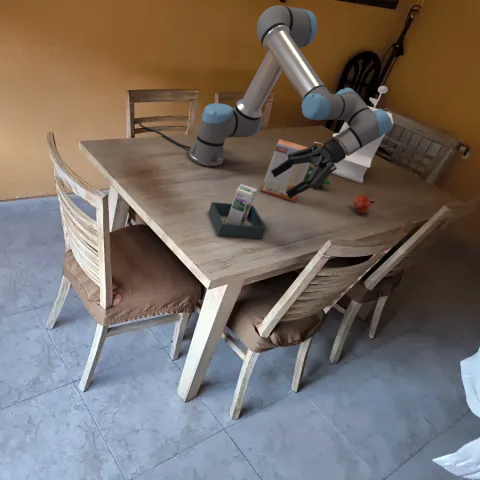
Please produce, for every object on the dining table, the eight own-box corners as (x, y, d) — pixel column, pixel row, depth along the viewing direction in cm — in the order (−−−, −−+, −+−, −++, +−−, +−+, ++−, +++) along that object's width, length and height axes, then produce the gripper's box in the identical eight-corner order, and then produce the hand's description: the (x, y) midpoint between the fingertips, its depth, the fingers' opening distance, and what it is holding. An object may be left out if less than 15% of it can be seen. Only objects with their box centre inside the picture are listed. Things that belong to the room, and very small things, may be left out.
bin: (218, 235, 140) (221, 224, 138) (208, 212, 151) (211, 201, 148) (261, 238, 144) (266, 227, 141) (249, 216, 154) (253, 205, 152)
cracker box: (295, 196, 174) (315, 148, 162) (294, 202, 169) (315, 154, 157) (262, 185, 177) (279, 137, 164) (259, 191, 172) (277, 142, 160)
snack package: (318, 192, 182) (323, 181, 178) (290, 174, 191) (295, 163, 188) (328, 189, 185) (333, 179, 182) (300, 172, 195) (305, 161, 192)
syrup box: (224, 226, 146) (236, 189, 137) (229, 218, 150) (241, 182, 142) (240, 232, 144) (253, 195, 136) (244, 224, 149) (257, 188, 141)
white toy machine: (363, 185, 196) (409, 99, 173) (304, 165, 202) (340, 79, 179) (363, 167, 215) (404, 87, 192) (309, 149, 221) (343, 69, 197)
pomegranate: (346, 216, 173) (372, 213, 166) (343, 198, 172) (369, 194, 165) (353, 213, 178) (378, 210, 171) (350, 195, 178) (375, 192, 171)
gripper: (364, 174, 126) (299, 213, 132) (326, 139, 146) (271, 173, 151) (356, 156, 122) (289, 196, 128) (319, 122, 142) (262, 158, 147)
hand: (279, 184), depth 140 cm, fingers open, 13 cm apart
